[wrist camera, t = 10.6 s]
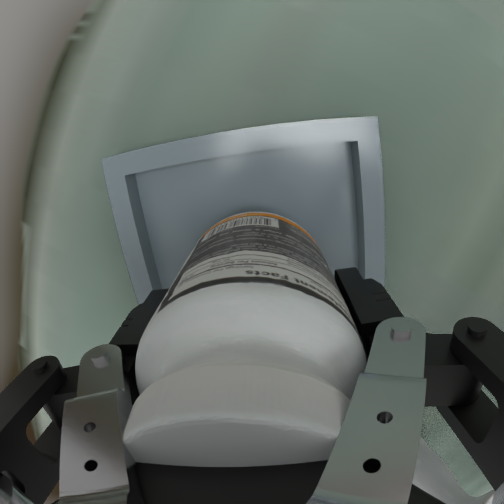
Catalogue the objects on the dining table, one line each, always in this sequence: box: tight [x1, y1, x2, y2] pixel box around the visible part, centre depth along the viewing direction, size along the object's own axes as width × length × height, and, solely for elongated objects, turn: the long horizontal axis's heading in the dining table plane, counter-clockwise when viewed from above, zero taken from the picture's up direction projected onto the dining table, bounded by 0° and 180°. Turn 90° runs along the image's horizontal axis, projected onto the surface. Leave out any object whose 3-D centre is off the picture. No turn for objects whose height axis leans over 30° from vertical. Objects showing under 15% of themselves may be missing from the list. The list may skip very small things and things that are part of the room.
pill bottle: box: [123, 212, 367, 467], centre depth 9 cm, size 6×6×10 cm
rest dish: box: [101, 116, 385, 304], centre depth 15 cm, size 12×12×2 cm
